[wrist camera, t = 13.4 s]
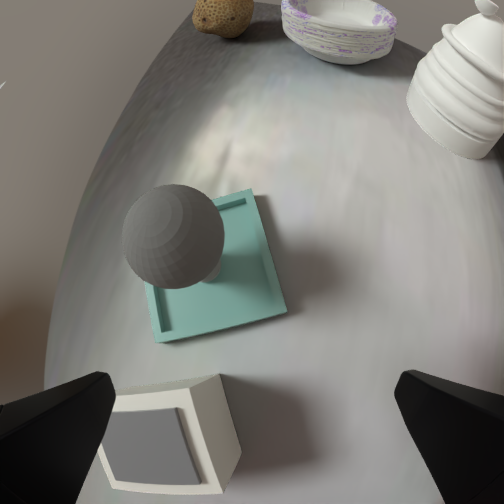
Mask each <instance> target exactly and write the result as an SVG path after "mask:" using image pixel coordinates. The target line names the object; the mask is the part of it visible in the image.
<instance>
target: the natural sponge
mask: <svg viewBox="0 0 504 504" xmlns="http://www.w3.org/2000/svg"><path fill="white" fill-rule="evenodd" d="M253 9H254V2H253V0H197V2H196V5H195V8H194V13H193V23H194V26H195V27H196V29H197V30H198V31H200V32H203V33H207V34H215V35H219V36H221V37H224V38H235V37H238V36H239V35H240V34H242V33H243V32H244V31H245V30H246V28H247V27H248V25H249V23H250V21H251V18H252V14H253Z"/></svg>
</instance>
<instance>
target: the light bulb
mask: <svg viewBox="0 0 504 504" xmlns="http://www.w3.org/2000/svg"><path fill="white" fill-rule="evenodd" d="M224 240H225V231H224V224H223V220H222V218H221V215H220V213H219V211H218V209H217V207H216V206H215V204H214V203H213V201H212V200H210V199H209V198H208V197H207V196H206V195H205V194H204V193H202V192H200V191H198V190H196V189H194V188H192V187H188V186H185V185H175V184H172V185H163V186H160V187H156V188H154V189H152V190H150V191H148V192H146V193H145V194H144V195H142V196H141V197H140V198H139V199H138V200H137V201H136V202H135V203H134V204H133V206H132V207H131V208H130V210H129V212H128V214H127V216H126V218H125V221H124V225H123V230H122V244H123V250H124V254H125V256H126V259H127V261H128V263H129V265H130V266H131V268H132V269H133V271H134V272H135V273H136V274H137V275H138V276H139V277H140V278H141V279H142V280H144V281H145V282H147V283H149V284H151V285H153V286H156V287H160V288H164V289H180V288H186V287H189V286H192V285H194V284H197V283H198V282H202V283H203V282H209V281H212V280H213V279H214V278H216V277H217V275H218V274H219V272H220V269H221V260H220V258H221V255H222V252H223V248H224Z"/></svg>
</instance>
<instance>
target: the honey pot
mask: <svg viewBox="0 0 504 504" xmlns="http://www.w3.org/2000/svg"><path fill="white" fill-rule="evenodd" d="M475 4H476V7H477V8H478V10H479V11H480V12H481V13H479V14H476V15H473V16H471V17H469V18H467V19H466V20H464V21H462V22H461V23H459V24H458V25H454V24H445V25H444V26H443V27H442V34H443V36H444V38H443V39H442V40H441V41H440V42H437V43H435V45H434V46H433V48H432V50H430V51H429V52H428V53H427V55H426V57H423V58H422V59H421V60H420V61H419V63H418V64H417V69H416V70H415V74H414V76H413V79H412V81H411V84H410V87H409V90H408V93H407V99H406V100H407V104H408V109H409V110H410V112H411V114H412V116H413V118H414V119H415V121H416V122H417V123H418V124H419V126H420V127H421V128H422V129H423V130H424V131H425V132H426V133H427V134H428V135H429V136H430V137H431V138H432V139H433V140H434V141H436V142H437V143H439V144H440V145H441V146H442V147H444V148H445V149H447V150H449V151H451V152H453V153H454V154H456V155H459V156H461V157H464V158H467V159H480V158H483V157H485V156H486V155H487V153H488V152H489V151H490V150H491V149H492V147H493V146H494V145H495V144H496V142H497V141H498V140H499V139H500V137H501V136H502V135H503V133H504V22H503V21H502V19H501V18H500V17H498V16H497V15H495V13H496V12H497V11H498V9H499V7H498V6H497V5H496V4H494V3H493V2H492V1H490V0H475Z"/></svg>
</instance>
